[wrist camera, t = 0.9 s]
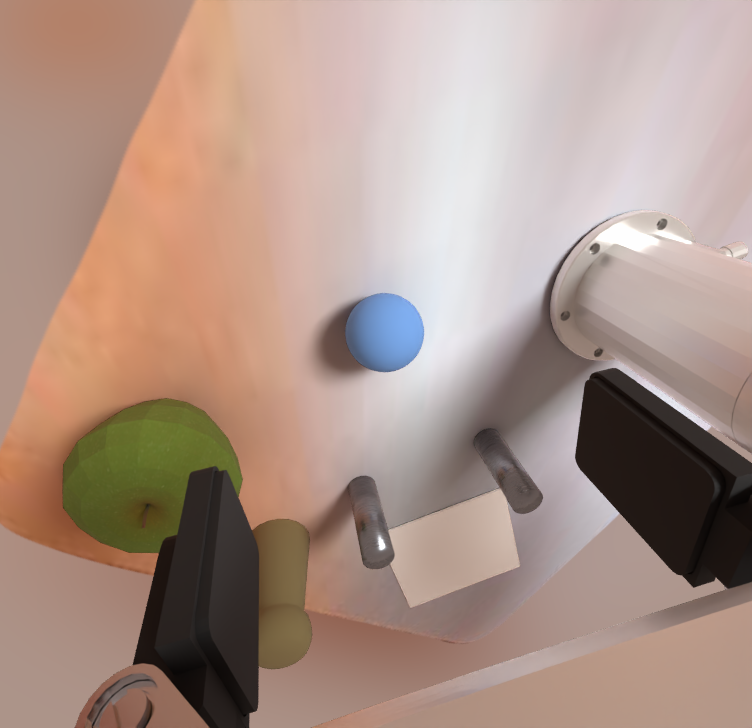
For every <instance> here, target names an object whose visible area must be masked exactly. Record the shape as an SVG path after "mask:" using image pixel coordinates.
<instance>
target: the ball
mask: <svg viewBox="0 0 752 728" xmlns="http://www.w3.org/2000/svg"><path fill="white" fill-rule="evenodd" d="M345 336H346V342H347V346H348V348H349V350H350V352H351V354H352V355H353V357H354V358H355V359H356V360H357V361H358V362H359V363H360V364H361V365H363V366H365V367H366V368H368V369H370V370H374V371H378V372H391V371H396V370H399V369H401V368H403V367H405V366H406V365H408V364H409V363H410V362H411V361H412V360H413V359H414V358H415V357H416V356H417V354H418V353H419V351H420V349H421V346H422V343H423V338H424V327H423V322H422V319H421V317H420V315H419V313H418V311H417V310H416V308H415V307H414V306H413V305H412V304H411V303H410V302H409V301H407V300H406V299H404V298H402V297H400V296H398V295H394V294H388V293H380V294H375V295H372V296H369V297H367V298H365V299H363V300H362V301H361V302H359V303H358V304H357V305H356V306H355V307H354V309H353V310H352V312H351V313H350V315H349V317H348V320H347V323H346V329H345Z"/></svg>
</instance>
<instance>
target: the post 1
mask: <svg viewBox="0 0 752 728" xmlns="http://www.w3.org/2000/svg"><path fill="white" fill-rule="evenodd" d="M348 489H349V494H350V499H351V505H352V510H353V515H354V520H355V525H356V530H357V535H358V540H359V545H360V550H361V555H362V561H363V564H364V565H365V566H366V567H367V568H370V569H380V568H383V567H385V566H387V565H389V564H390V563H391V562H392V561H393V559H394V557H395V553H394V550H393V546H392V542H391V539H390V535H389V531H388V528H387V524H386V520H385V517H384V513H383V509H382V506H381V502H380V499H379V495H378V491H377V488H376V484H375V481H374V480H373V479H372V478H371V477H368V476H360V477H357V478H355V479H353V480H352V481H351V482H350V484H349V487H348Z"/></svg>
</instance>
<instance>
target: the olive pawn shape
mask: <svg viewBox="0 0 752 728" xmlns="http://www.w3.org/2000/svg"><path fill="white" fill-rule="evenodd" d="M252 532H253V535H254V537H255V540H256V542H257V546H258V551H259V666H260V667H262V668H267V669H280V668H284V667H288V666H290V665H292V664H294V663H296V662H298V661H299V660H300V659H301V658H303V656H304V655H305V654H306V653H307V651H308V649H309V646H310V643H311V638H312V627H311V622H310V619H309V616H308V615H307V613H306V612H305V611H304V605H305V592H306V580H307V567H308V554H309V542H310V537H309V532H308V531H307V529H306V528H305V527H304V526H303V525H301V524H300V523H298V522H296V521H292V520H289V519H276V520H271V521H267V522H265V523H263V524H260V525H259V526H257V527H256V528H255V529H254V530H252Z"/></svg>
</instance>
